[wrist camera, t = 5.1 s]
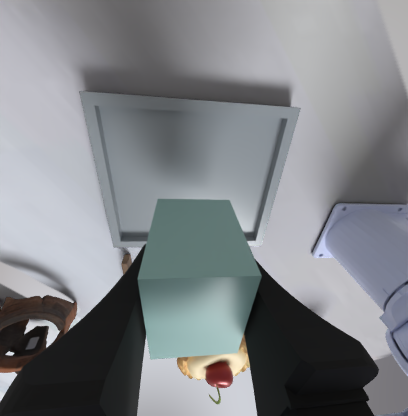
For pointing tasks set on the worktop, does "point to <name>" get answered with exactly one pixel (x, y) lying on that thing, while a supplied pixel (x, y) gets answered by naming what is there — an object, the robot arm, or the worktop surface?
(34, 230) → the worktop surface
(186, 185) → the grey tray
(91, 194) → the worktop surface
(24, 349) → the brown piece
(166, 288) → the teal block
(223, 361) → the pastry
